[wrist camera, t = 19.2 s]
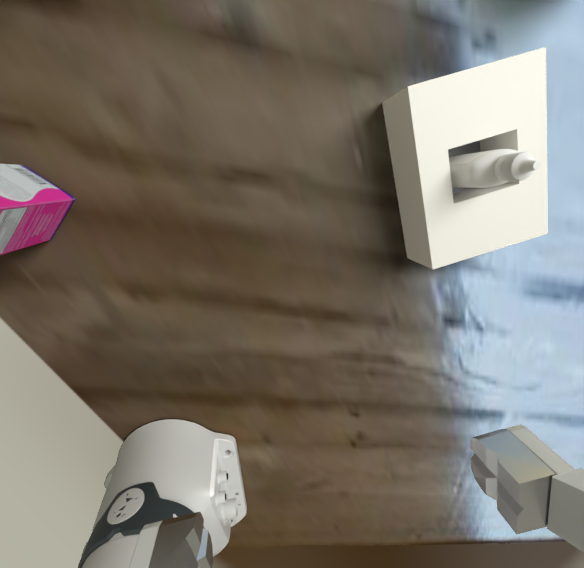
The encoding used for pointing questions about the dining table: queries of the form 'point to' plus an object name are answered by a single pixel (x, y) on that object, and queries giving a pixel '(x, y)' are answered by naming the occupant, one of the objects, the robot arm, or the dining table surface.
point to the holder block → (464, 140)
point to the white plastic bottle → (491, 168)
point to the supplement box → (28, 208)
